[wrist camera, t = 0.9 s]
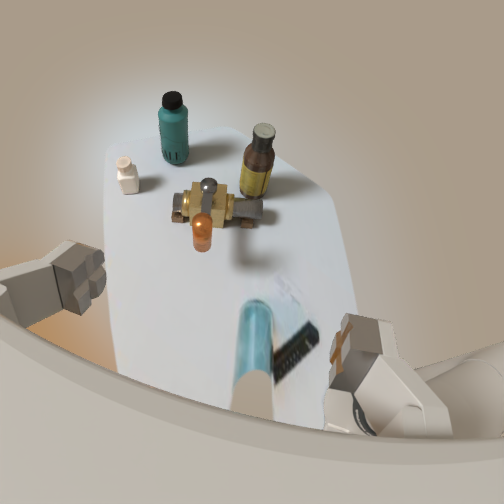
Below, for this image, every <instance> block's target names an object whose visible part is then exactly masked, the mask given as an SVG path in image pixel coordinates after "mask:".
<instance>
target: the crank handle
mask: <svg viewBox="0 0 504 504" xmlns="http://www.w3.org/2000/svg"><path fill="white" fill-rule="evenodd" d="M217 185H218V184H217V181H216V180H215V179H213V178H205V179H203V180H202V181H201V183H200V191H201V193H202V194H203V197H202V205H201V213H198V214H196V215H195V216H194V217H193V219H192V229H193V245H194V248H195V249H196V250H197V251H198V252H206V251H208V250H209V249H210V247H211V239H212V223H213V221H212V217H211V207H212V198H213V195H214V194H215V193H216V192H217Z"/></svg>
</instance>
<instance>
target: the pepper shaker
mask: <svg viewBox="0 0 504 504" xmlns="http://www.w3.org/2000/svg"><path fill="white" fill-rule="evenodd" d="M116 164H117V168H118V174H117V179H118V182H119V185H120V188H121V190H122V193H123V194H134V193H138V191H139V181H140V180H139V176H138V173H137V169H136V166H135V165H134V164H132V163H131V159H130V158H129V157H127V156H123V157H120V158H119V159H118V160H117V163H116Z"/></svg>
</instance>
